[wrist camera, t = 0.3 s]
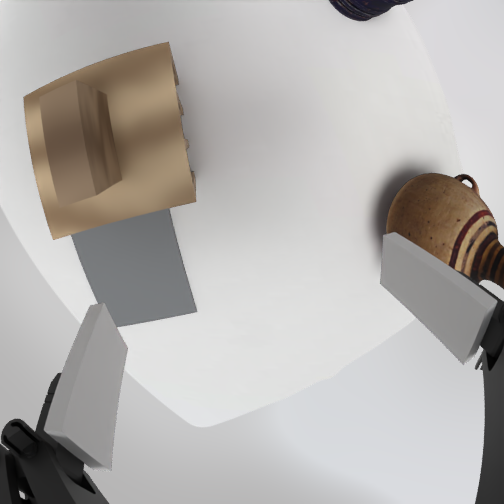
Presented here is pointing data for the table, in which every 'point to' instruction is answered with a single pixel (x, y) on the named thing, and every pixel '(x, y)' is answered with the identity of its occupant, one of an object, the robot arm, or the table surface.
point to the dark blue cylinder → (365, 7)
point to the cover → (109, 142)
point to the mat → (136, 268)
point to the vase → (449, 224)
